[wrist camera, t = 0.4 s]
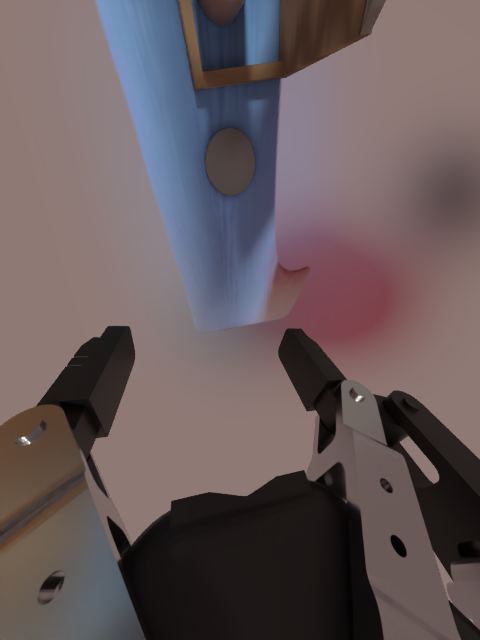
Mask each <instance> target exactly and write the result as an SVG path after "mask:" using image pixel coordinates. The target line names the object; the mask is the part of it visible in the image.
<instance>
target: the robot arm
mask: <svg viewBox="0 0 480 640" xmlns="http://www.w3.org/2000/svg"><path fill="white" fill-rule="evenodd" d="M278 354H279V358H280V361H281V362H282V364H283V366H284V368H285V370H286V372H287V374H288V376H289V378H290V380H291V382H292V383H293V386H294V387H295V389H296V391H297V393H298V395H299V397H300V399H301V401H302V403H303V405H304V407H305V408H306V410H307V411H313V410H316V411H317V413H318V415H317V416H316V422H315V433H314V444H313V455H312V460H311V462H310V465H309V467H308V470H307V474H305V471H304V470H303V471H298V472H294V473H290V474H285V475H281V476H277V477H275V478H274V479H272V480H271V481H269V482H268V483H266V484H265V485H264V486H262V487H261V488H259V489H258V490H256V491H254V492H253V493H252V494H250V495H248V496H237V495H228V494H220V493H212V492H208V493H204V494H199V495H195V496H191V497H187V498H182V499H178V500H174V501H172V502H171V510H170V511H168V512H167V513H166V514H164V515H162V516H161V517H159V518H158V519H157V520H156V521H154V522H153V523H152V524H151V525H150V526H149V527H148V528H147V529H146V530H145V531H144V532H143V533H142V534H141V535H140V536H139V537H138V538H137V539H136V541H135V542H134V543H133V544H132V542H131V540H130V537H129V535H128V533H127V530H126V529H125V526H124V523H123V521H122V519H121V517H120V515H119V513H118V511H117V509H116V507H115V505H114V504H113V502H112V499H111V497H110V495H109V493H108V490H107V488H106V486H105V483H104V481H103V479H102V476H101V474H100V472H99V469H98V467H97V465H96V462H95V460H94V457H93V455H92V453H91V449H92V446H93V444H94V441H95V439H96V438H100V437H107V436H108V434H109V432H110V429H111V426H112V423H113V420H114V418H115V415H116V412H117V409H118V407H119V404H120V400H121V398H122V395H123V393H124V390H125V387H126V384H127V381H128V378H129V376H130V373H131V370H132V367H133V365H134V361H135V349H134V344H133V339H132V335H131V330H130V327H129V326H108V327H107V328H106V330H105V331H104V333H103V334H102V336H101V337H100V338H98V337H93V338H92V339H90V340H89V341H88V342H86V343H85V344H83V345H82V346H81V347H80V349H79V350H78V351H77V352H76V354H75V355H74V358H72V359H71V360H70V362H69V363H68V365H67V367H65V369H64V370H63V371H62V372H61V374H60V375H59V376H58V378H57V379H56V380H55V382H54V383H53V384H52V386H51V387H50V388H49V390H48V391H47V393H46V394H45V395H44V397H43V398H42V399H41V401H40V402H39V403H38V404H37V406H36V407H33V408H30V409H28V410H25V411H23V412H21V413H19V414H17V415H15V416H14V417H12V418H11V419H9V420H8V421H6V422H5V423H4V424H2V425H1V426H0V640H480V460H479V458H477V456H475V455H474V454H473V453H472V452H471V451H470V450H469V449H468V448H467V447H466V446H465V445H464V444H463V443H462V442H461V441H460V440H459V439H458V438H457V437H456V436H455V435H454V434H453V433H452V432H451V431H450V430H449V429H447V428H446V427H445V426H444V425H443V424H442V423H441V422H440V421H439V420H438V419H437V418H436V417H435V416H434V415H433V414H432V413H431V412H430V411H429V410H428V409H427V408H426V407H425V406H424V405H423V404H421V403H420V402H419V401H418V400H417V399H415V398H414V397H412V396H411V395H409V394H407V393H404V392H402V391H393V392H392V393H391V394H390V395H388V397H383V396H379V395H374V394H372V393H371V392H370V391H369V390H368V389H367V388H366V387H365V386H363V385H362V384H360V383H358V382H356V381H353V380H347V379H346V378H345V377H344V375H343V374H342V373H341V372H340V371H339V369H338V368H337V367H336V366H335V365H334V363H333V362H332V361H331V360H330V359H329V357H327V355H326V354H325V353H324V352H323V350H322V349H321V348H320V347H319V345H318V344H317V343H316V342H315V341H313V340H312V339H311V338H309V337H308V336H307V335H306V334H305V333H304V331H303V330H302V329H287V330H286V331H285V334H284V336H283V339H282V341H281V344H280V347H279V350H278ZM407 436H409V437H410V438H411V439H412V440H413V441H414V443H415V444H416V445H417V446H418V447H419V448H420V450H421V451H422V452H423V453H424V454H425V455H426V457H427V458H428V459H429V460H430V461H431V463H432V464H433V465H434V466H435V468H436V469H437V471H438V473H439V481H438V482H437V483H435V484H433V483H432V482H431V481H429V479H428V478H427V477H426V476H425V475H424V473H423V472H422V471H421V469H420V468H419V467H418V466H417V464H416V463H415V462H414V460H413V459H412V458H411V457H410V455H409V454H408V453H407V452H406V450H405V449H404V448H403V446H402V445H401V444H400V443H399V442H400V441H402V440H403V439H404V438H406V437H407ZM433 551H434V552H435V554H436V555H437V557H438V558H439V560H440V561H441V563H442V564H443V566H444V568H445V569H446V571H447V572H448V574H449V575H450V577H451V579H452V580H453V582H449V583H448V584H447V591H448V594H449V597H450V599H451V601H452V602H453V604H454V605H455V606H454V605H453V604H452V603H451V602H450V601H449V600H448V598H447V595H446V592H445V589H444V585H443V582H442V579H441V576H440V572H439V569H438V566H437V563H436V559H435V556H434V552H433ZM469 619H473V621H474V624H475V625H474V624H473V623H472V622H471V621H470V620H469Z"/></svg>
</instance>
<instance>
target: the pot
mask: <svg viewBox="0 0 480 640" xmlns="http://www.w3.org/2000/svg"><path fill="white" fill-rule="evenodd" d="M198 2H199V5H200V7H201V9H202V11H203V12H204V14H205V15H206V17H207V18H208V19H209V20H210V21H211V22H212V23H213V24H215V25H217V26H220V27H224V26H227V25H229V24H230V23H231V22H232V21H233V20H234V19H235V18H236V16H237V14H238V12H239V11H240V9H241V7H242V5H243V4H244V2H245V0H198Z"/></svg>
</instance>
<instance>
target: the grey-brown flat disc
mask: <svg viewBox="0 0 480 640" xmlns="http://www.w3.org/2000/svg"><path fill="white" fill-rule="evenodd" d="M205 166H206V172H207V175H208V178H209V180H210V182H211V183H212V185H213V186H214V187H215V188H216V189H217V190H218V191H219V192H221V193H222V194H225V195H228V196H234V195H238V194H240V193H242V192H243V191H244V190H245V189H246V188H247V187H248V186H249V184H250V183H251V181H252V178H253V175H254V171H255V153H254V149H253V146H252V144H251V142H250V140H249V139H248V137H247V136H246V135H245V134H244V133H243V132H241V131H240V130H238V129H235V128H226V129H222V130H220V131H218V132H217V133H216V134H215V135H214V136H213V137H212V138H211V140H210V142H209V144H208V146H207V150H206V155H205Z"/></svg>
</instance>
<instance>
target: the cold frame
mask: <svg viewBox="0 0 480 640" xmlns="http://www.w3.org/2000/svg"><path fill="white" fill-rule="evenodd" d="M385 1H386V0H280V25H279V61H278V62H271V63H263V64H256V65H249V66H241V67H234V68H226V69H219V70H212V71H204V72H202V66H201V59H200V53H199V47H198V41H197V34H196V28H195V22H194V15H193V9H192V3H191V0H178V4H179V10H180V15H181V20H182V26H183V31H184V36H185V42H186V47H187V52H188V58H189V63H190V68H191V74H192V79H193V84H194V90H195V91H197V90H204V89H211V88H218V87H224V86H231V85H238V84H245V83H252V82H259V81H265V80H272V79H279V78H286V77H288V76H290V75H291V74H293V73H296V72H298V71H299V70H302V69H304V68H306V67H308V66H309V65H311V64H313V63H315V62H317V61H319V60H321V59H323V58H325V57H327V56H329V55H331V54H333V53H335V52H337V51H339V50H341V49H343V48H345V47H347V46H349V45H351V44H353V43H354V42H357V41H358V40H360V39H362V38H364V37H366V36H368V35H370V34H371V32H372V28H373V26H374V24H375V22H376V19H377V18H378V15H379V13H380V11H381V9H382V7H383V5H384V3H385Z"/></svg>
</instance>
